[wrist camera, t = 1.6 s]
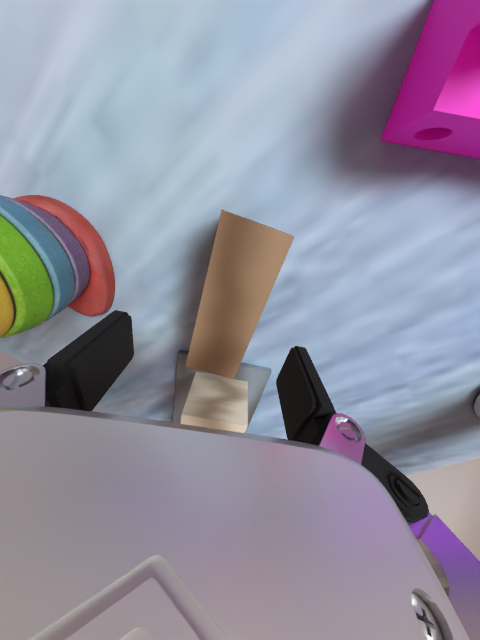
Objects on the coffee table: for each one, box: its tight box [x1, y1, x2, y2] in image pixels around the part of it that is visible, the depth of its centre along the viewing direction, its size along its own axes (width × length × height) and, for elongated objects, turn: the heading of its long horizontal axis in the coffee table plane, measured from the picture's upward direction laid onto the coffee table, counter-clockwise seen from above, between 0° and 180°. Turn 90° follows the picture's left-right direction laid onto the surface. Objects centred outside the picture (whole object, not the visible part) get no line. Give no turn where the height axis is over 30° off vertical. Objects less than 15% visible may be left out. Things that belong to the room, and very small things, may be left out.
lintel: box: [185, 210, 294, 379], centre depth 17 cm, size 5×14×5 cm, turn 162°
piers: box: [172, 351, 271, 433], centre depth 26 cm, size 12×20×7 cm, turn 167°
